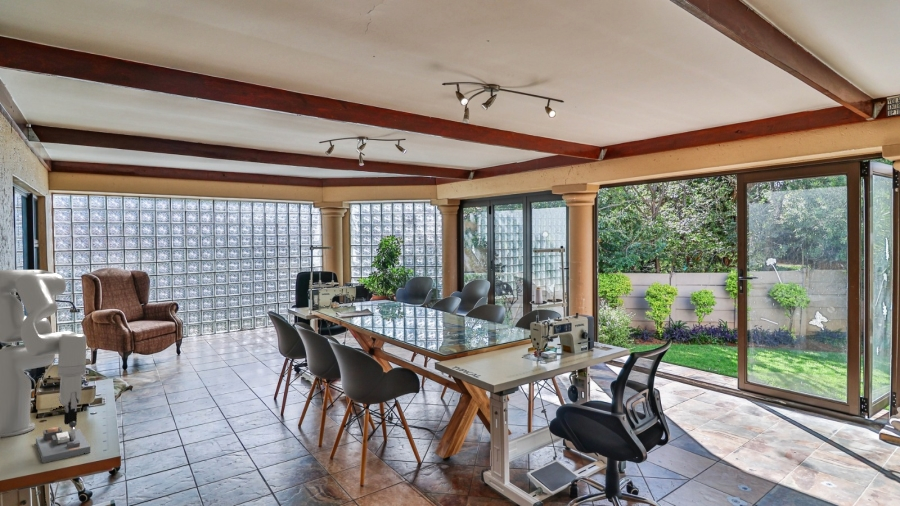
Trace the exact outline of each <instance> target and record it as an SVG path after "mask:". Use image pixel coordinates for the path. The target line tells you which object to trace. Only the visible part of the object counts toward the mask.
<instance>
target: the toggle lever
mask: <svg viewBox="0 0 900 506" xmlns="http://www.w3.org/2000/svg"><path fill="white" fill-rule="evenodd" d="M77 424H78V423H77V422H75V421H72V422H70V424H68V425H69V427H70V431H71V440H74V439H76V433H75V430H76V426H77Z"/></svg>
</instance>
